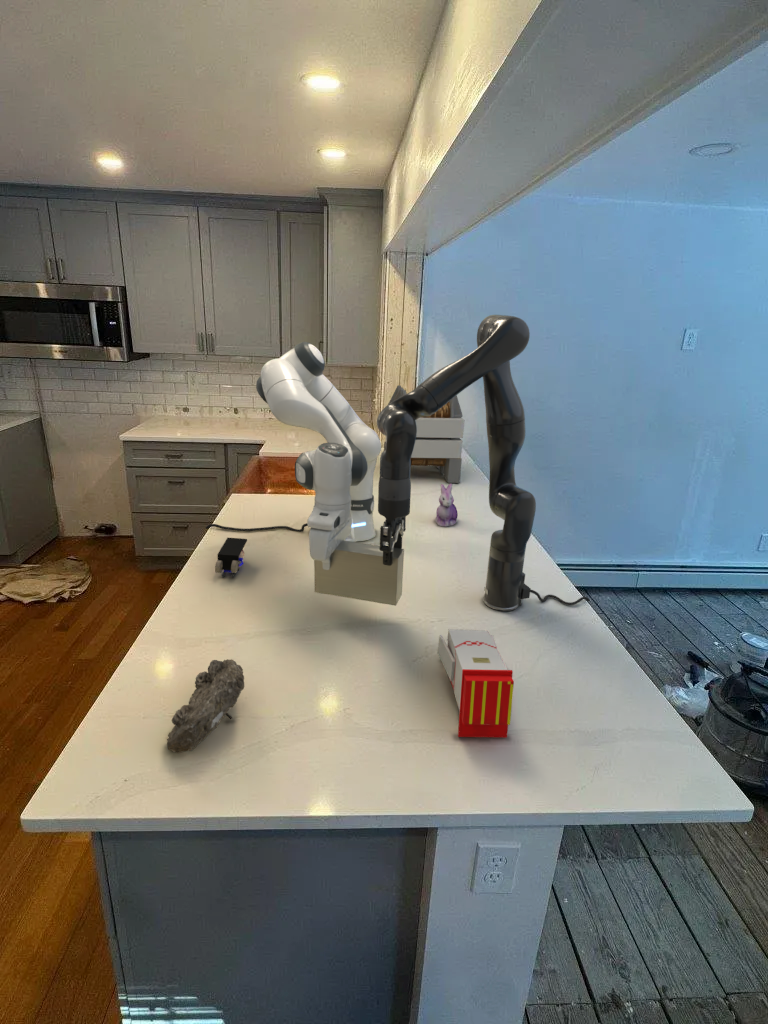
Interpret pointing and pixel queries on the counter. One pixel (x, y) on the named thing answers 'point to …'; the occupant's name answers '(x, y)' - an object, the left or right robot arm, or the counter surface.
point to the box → (361, 574)
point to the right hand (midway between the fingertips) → (392, 557)
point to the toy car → (230, 556)
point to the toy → (478, 682)
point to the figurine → (446, 508)
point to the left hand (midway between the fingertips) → (332, 562)
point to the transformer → (438, 439)
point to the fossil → (206, 705)
